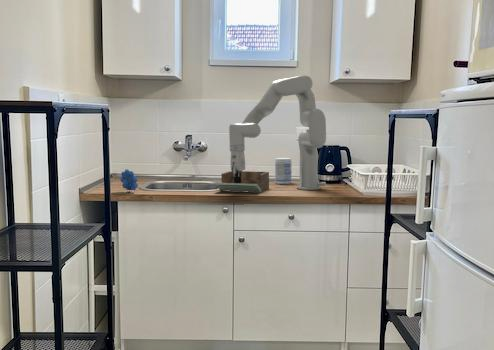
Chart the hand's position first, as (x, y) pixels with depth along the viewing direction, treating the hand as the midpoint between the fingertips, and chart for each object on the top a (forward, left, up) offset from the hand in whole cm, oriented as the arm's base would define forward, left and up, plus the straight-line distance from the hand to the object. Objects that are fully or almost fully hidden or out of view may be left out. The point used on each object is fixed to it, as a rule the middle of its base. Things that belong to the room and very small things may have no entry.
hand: (237, 184), depth 239 cm
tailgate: (0, -5, -5) cm, 7 cm away
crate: (0, -13, -5) cm, 14 cm away
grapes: (+56, +12, -5) cm, 58 cm away
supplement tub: (-14, -43, -5) cm, 46 cm away
